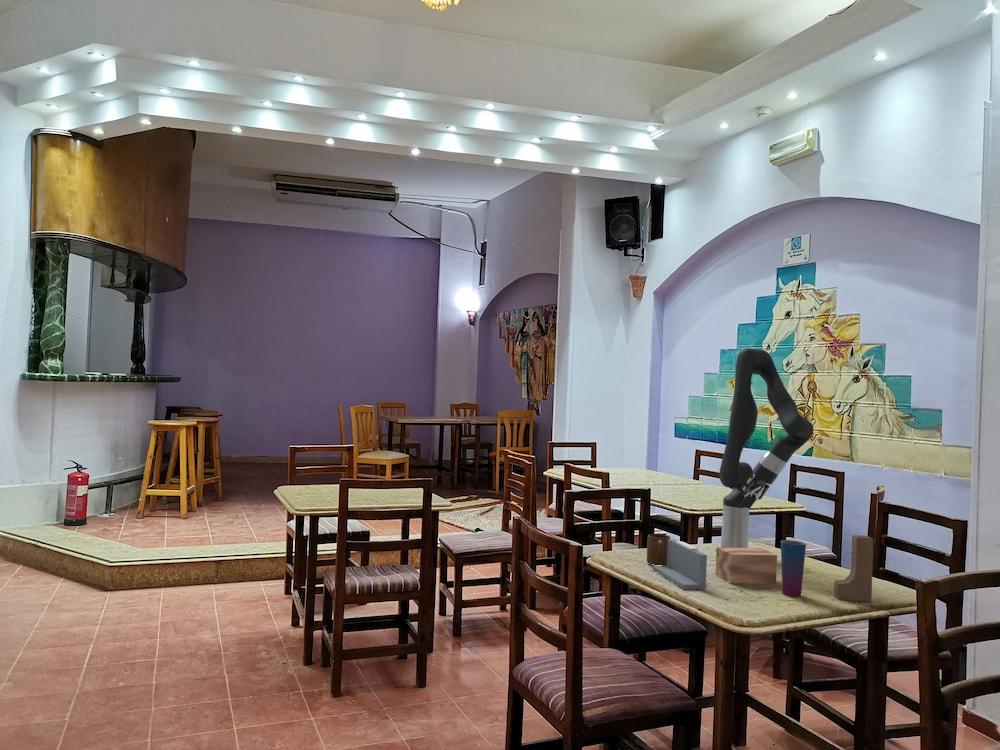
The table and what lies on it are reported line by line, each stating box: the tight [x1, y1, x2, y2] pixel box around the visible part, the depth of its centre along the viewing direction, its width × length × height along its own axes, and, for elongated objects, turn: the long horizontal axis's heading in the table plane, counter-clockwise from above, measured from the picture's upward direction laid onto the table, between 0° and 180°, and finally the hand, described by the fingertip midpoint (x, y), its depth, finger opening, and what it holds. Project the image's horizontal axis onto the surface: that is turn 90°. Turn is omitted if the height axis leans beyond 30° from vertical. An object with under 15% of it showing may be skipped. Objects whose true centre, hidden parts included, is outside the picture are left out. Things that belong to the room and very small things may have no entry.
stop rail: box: [651, 538, 708, 590], centre depth 221 cm, size 23×7×11 cm, turn 11°
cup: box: [780, 539, 807, 598], centre depth 210 cm, size 7×7×15 cm
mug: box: [646, 533, 671, 566], centre depth 239 cm, size 12×8×9 cm, turn 173°
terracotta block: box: [715, 546, 778, 585], centre depth 225 cm, size 10×15×9 cm, turn 98°
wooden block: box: [833, 534, 874, 603], centre depth 208 cm, size 9×4×18 cm, turn 82°
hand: (741, 505), depth 247 cm, fingers open, 8 cm apart
